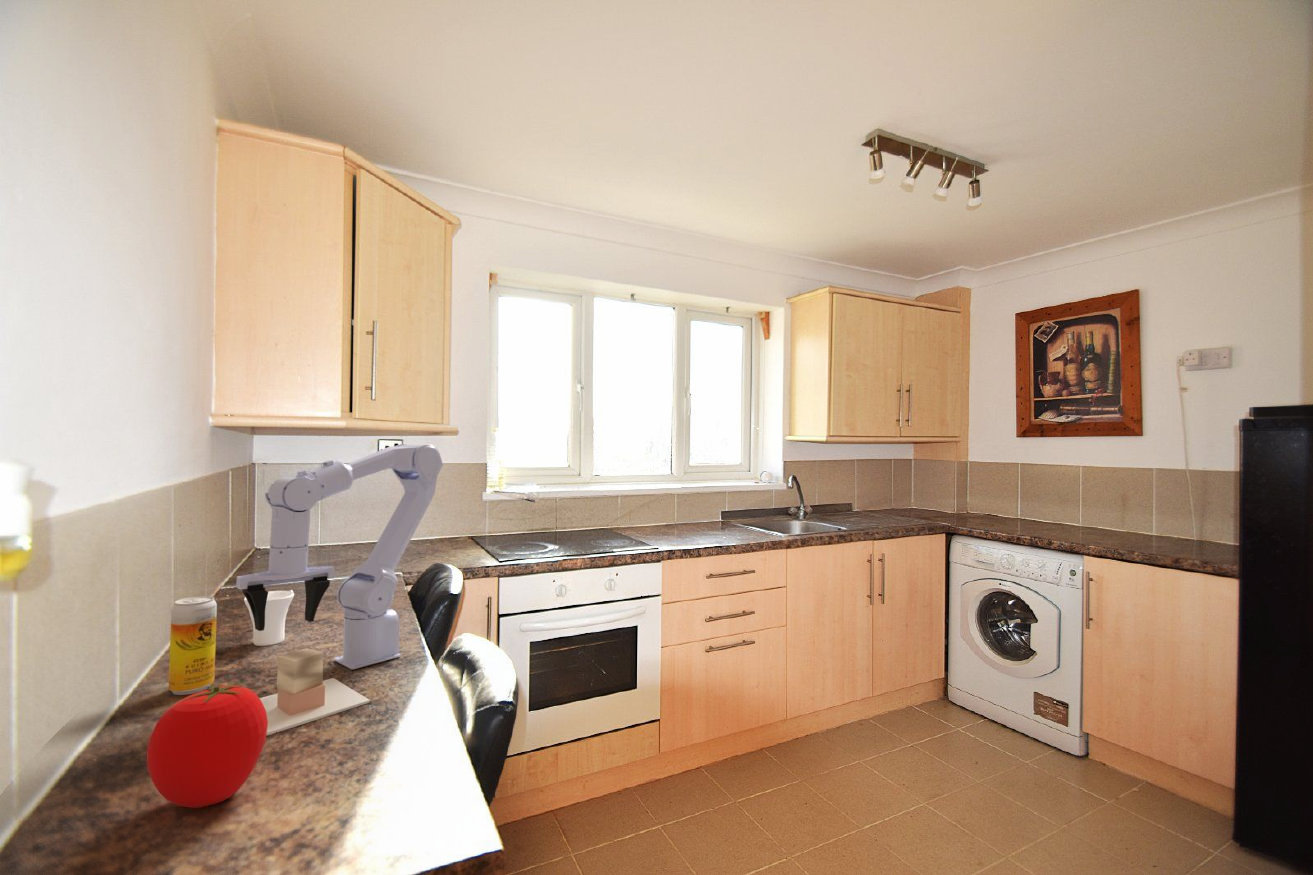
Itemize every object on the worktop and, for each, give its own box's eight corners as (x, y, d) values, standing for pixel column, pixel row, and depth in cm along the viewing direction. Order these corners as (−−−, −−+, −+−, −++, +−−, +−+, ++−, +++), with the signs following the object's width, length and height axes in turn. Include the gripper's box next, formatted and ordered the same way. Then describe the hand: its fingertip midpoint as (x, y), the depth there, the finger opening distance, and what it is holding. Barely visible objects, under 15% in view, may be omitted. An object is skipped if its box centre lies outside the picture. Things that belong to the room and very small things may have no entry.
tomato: (168, 843, 60) (172, 718, 61) (130, 807, 66) (134, 694, 66) (285, 790, 70) (288, 682, 70) (242, 763, 76) (245, 664, 76)
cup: (302, 639, 125) (304, 592, 125) (254, 651, 117) (255, 601, 117) (282, 632, 129) (283, 587, 130) (234, 643, 122) (235, 595, 122)
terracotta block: (311, 696, 95) (312, 678, 95) (324, 705, 92) (325, 686, 92) (277, 706, 91) (277, 687, 91) (289, 716, 88) (289, 696, 88)
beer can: (188, 697, 95) (191, 605, 95) (158, 694, 96) (161, 603, 97) (223, 683, 101) (226, 596, 101) (194, 680, 102) (197, 594, 103)
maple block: (305, 678, 95) (306, 647, 95) (322, 684, 93) (323, 652, 93) (276, 688, 91) (277, 656, 91) (293, 694, 89) (294, 661, 89)
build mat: (333, 680, 103) (333, 678, 103) (369, 702, 94) (369, 700, 94) (224, 710, 91) (224, 708, 91) (254, 739, 82) (254, 736, 82)
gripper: (324, 540, 109) (320, 613, 109) (232, 547, 98) (227, 628, 98) (340, 544, 105) (336, 620, 104) (246, 552, 94) (241, 637, 93)
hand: (285, 625), depth 101 cm, fingers open, 7 cm apart
